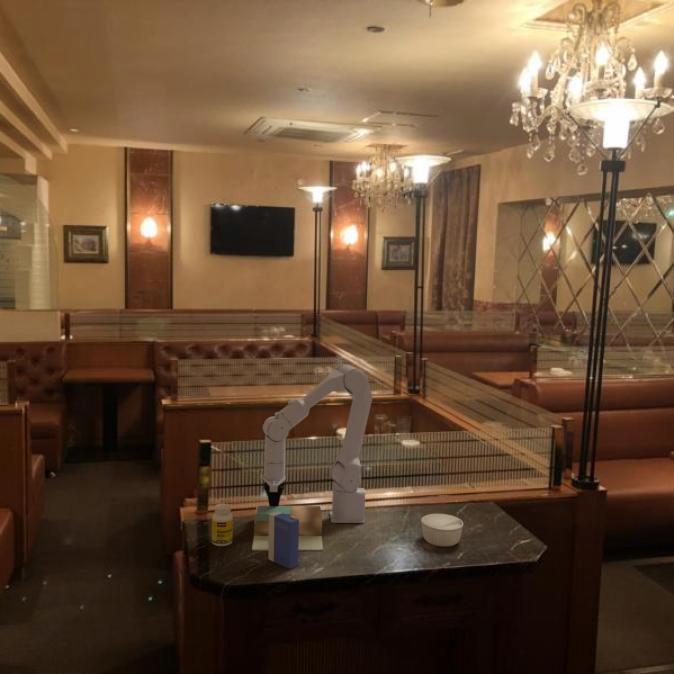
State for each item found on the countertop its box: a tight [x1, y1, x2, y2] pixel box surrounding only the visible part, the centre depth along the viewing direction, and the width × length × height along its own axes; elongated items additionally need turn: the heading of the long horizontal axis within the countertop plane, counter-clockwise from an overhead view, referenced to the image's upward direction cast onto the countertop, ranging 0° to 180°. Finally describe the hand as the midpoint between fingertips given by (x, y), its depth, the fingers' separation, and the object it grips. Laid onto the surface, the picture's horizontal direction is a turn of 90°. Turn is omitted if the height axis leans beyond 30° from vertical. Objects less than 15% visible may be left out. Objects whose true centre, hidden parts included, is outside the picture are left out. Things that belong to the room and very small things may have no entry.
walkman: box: [267, 511, 299, 570], centre depth 167 cm, size 8×3×12 cm, turn 47°
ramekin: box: [420, 513, 464, 548], centre depth 184 cm, size 11×11×5 cm
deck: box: [253, 505, 323, 537], centre depth 189 cm, size 18×12×4 cm, turn 93°
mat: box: [251, 535, 324, 552], centre depth 179 cm, size 18×8×1 cm, turn 93°
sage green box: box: [255, 505, 292, 521], centre depth 186 cm, size 9×6×2 cm, turn 93°
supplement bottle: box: [211, 503, 234, 547], centre depth 178 cm, size 5×5×10 cm
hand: (274, 508), depth 190 cm, fingers closed
